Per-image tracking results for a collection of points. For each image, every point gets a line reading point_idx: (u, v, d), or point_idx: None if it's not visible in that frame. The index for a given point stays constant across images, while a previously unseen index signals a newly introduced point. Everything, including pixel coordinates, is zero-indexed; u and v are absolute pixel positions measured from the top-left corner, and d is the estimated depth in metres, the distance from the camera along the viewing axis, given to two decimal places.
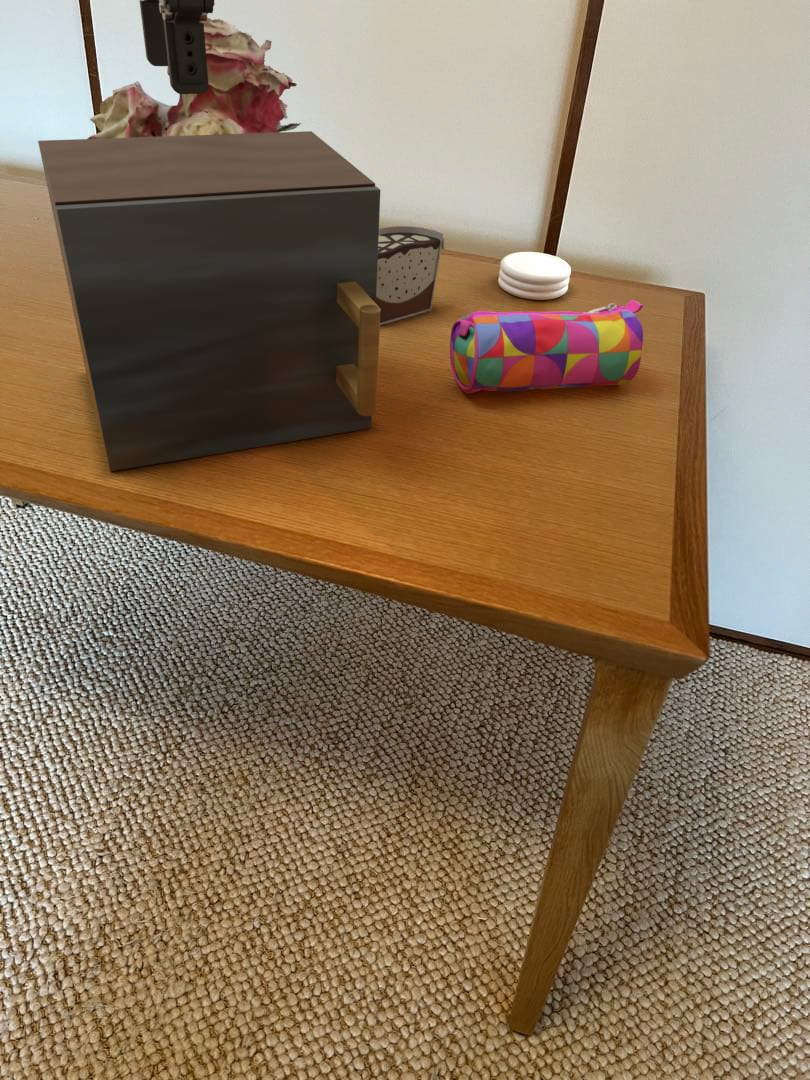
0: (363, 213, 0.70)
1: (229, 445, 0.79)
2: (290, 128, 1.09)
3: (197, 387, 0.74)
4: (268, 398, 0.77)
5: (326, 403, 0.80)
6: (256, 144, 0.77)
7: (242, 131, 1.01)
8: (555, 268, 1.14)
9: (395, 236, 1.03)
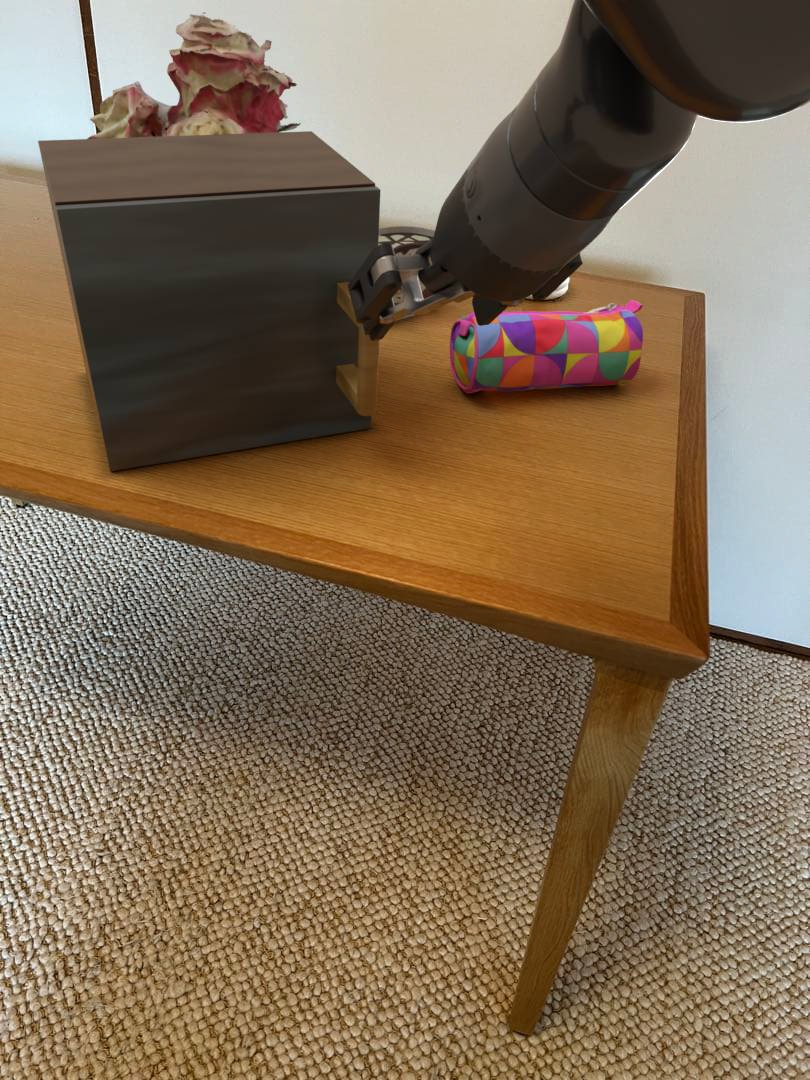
0: (363, 213, 0.70)
1: (229, 445, 0.79)
2: (290, 128, 1.09)
3: (197, 387, 0.74)
4: (268, 398, 0.77)
5: (326, 403, 0.80)
6: (256, 144, 0.77)
7: (242, 131, 1.01)
8: None
9: (395, 236, 1.03)
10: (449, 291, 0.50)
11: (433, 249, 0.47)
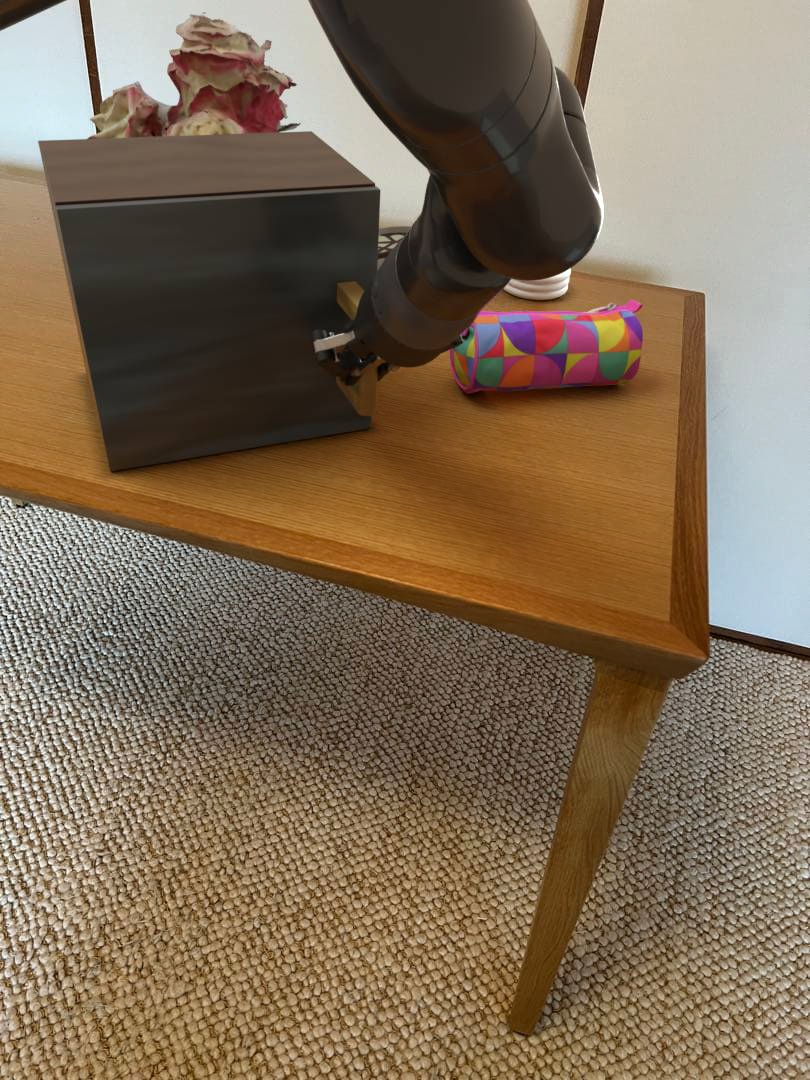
0: (363, 213, 0.70)
1: (229, 445, 0.79)
2: (290, 128, 1.09)
3: (197, 387, 0.74)
4: (268, 398, 0.77)
5: (326, 403, 0.80)
6: (256, 144, 0.77)
7: (242, 131, 1.01)
8: None
9: (395, 236, 1.03)
10: (371, 357, 0.65)
11: (355, 327, 0.62)
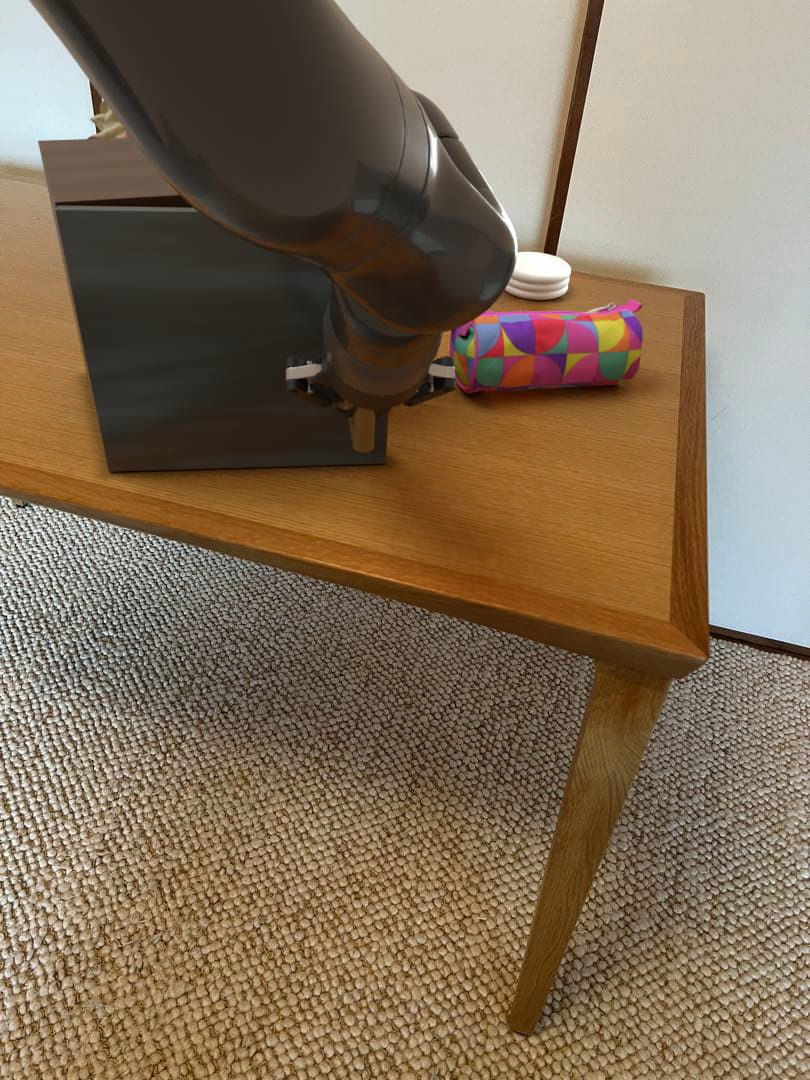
0: None
1: (231, 461, 0.77)
2: None
3: (197, 399, 0.72)
4: (273, 419, 0.74)
5: (336, 432, 0.76)
6: None
7: None
8: (555, 268, 1.14)
9: None
10: None
11: None
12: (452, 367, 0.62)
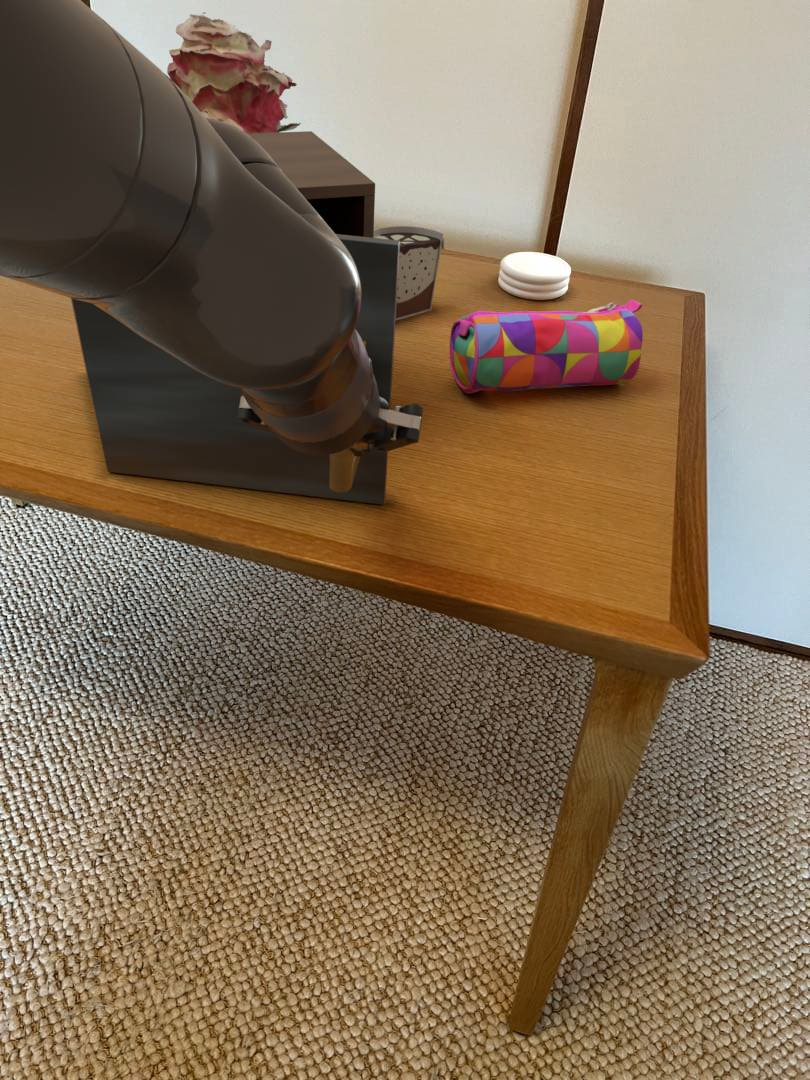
0: (376, 268, 0.60)
1: (225, 479, 0.74)
2: (290, 128, 1.09)
3: (191, 412, 0.70)
4: (266, 443, 0.71)
5: None
6: None
7: None
8: (555, 268, 1.14)
9: (395, 236, 1.03)
10: None
11: None
12: (417, 417, 0.56)
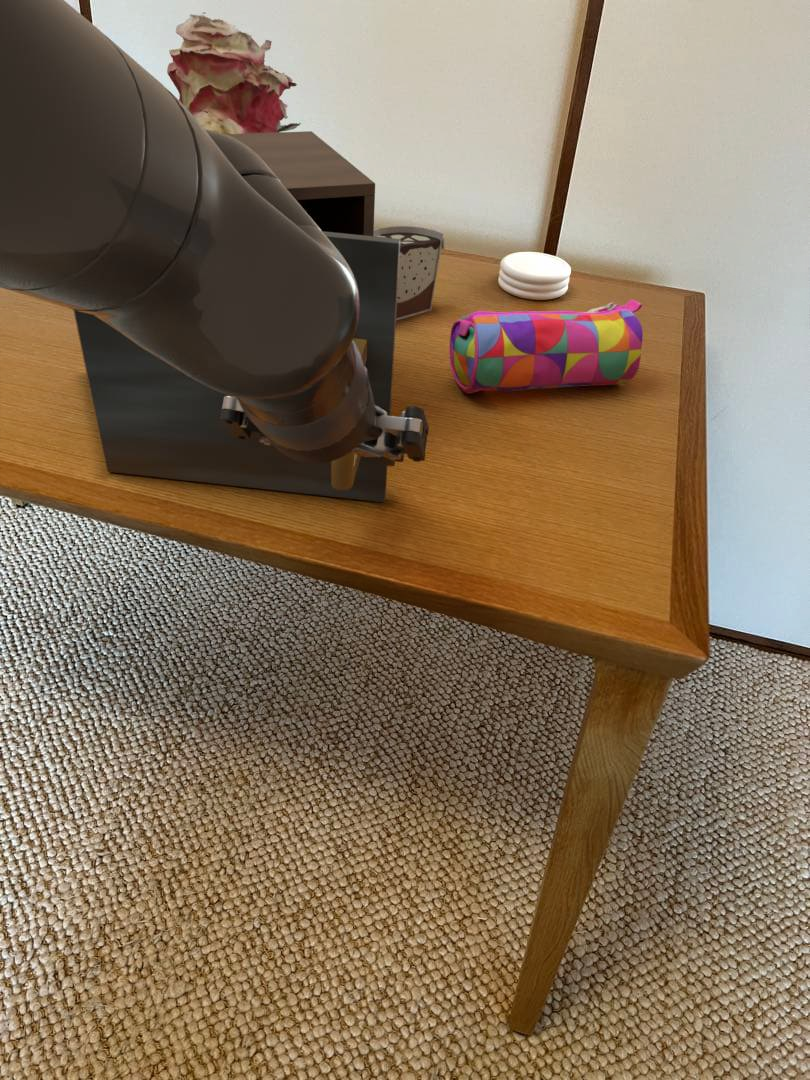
0: (377, 266, 0.61)
1: (225, 478, 0.75)
2: (290, 128, 1.09)
3: (191, 412, 0.70)
4: None
5: None
6: (256, 144, 0.77)
7: (242, 131, 1.01)
8: (555, 268, 1.14)
9: (395, 236, 1.03)
10: None
11: None
12: (413, 418, 0.54)
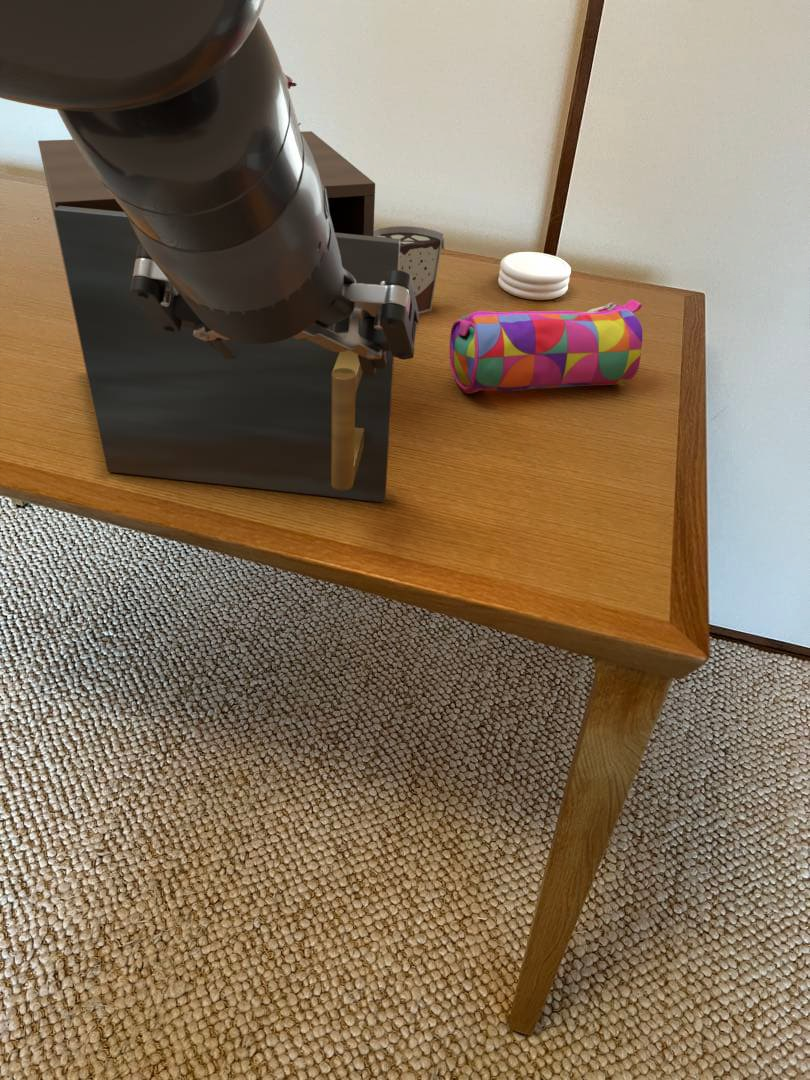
0: (377, 266, 0.61)
1: (225, 478, 0.75)
2: None
3: (191, 412, 0.70)
4: (267, 441, 0.72)
5: None
6: None
7: None
8: (555, 268, 1.14)
9: (395, 236, 1.03)
10: None
11: None
12: (396, 286, 0.39)
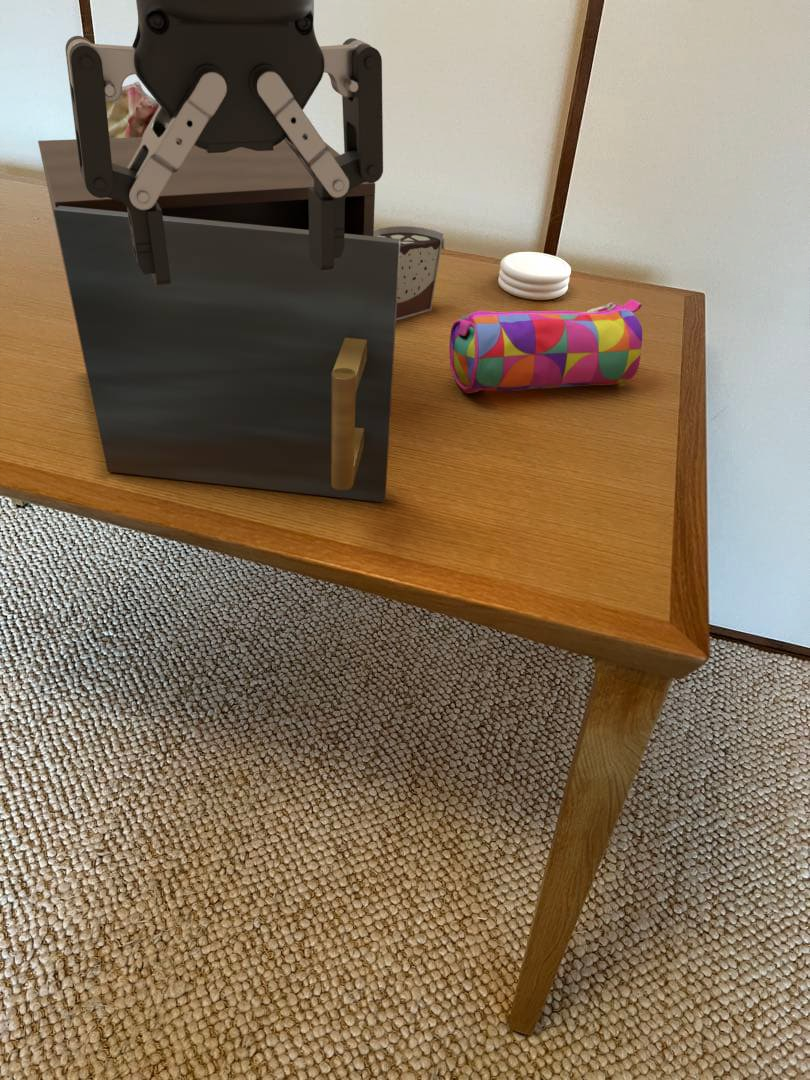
0: (377, 266, 0.61)
1: (225, 478, 0.75)
2: None
3: (191, 412, 0.70)
4: (267, 441, 0.72)
5: None
6: None
7: None
8: (555, 268, 1.14)
9: (395, 236, 1.03)
10: (189, 90, 0.35)
11: (138, 18, 0.34)
12: (359, 40, 0.38)
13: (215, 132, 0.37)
